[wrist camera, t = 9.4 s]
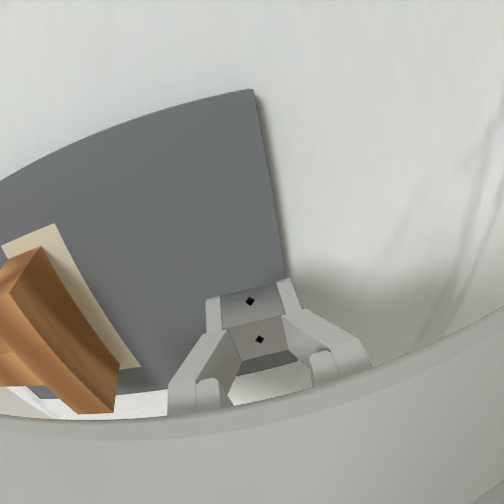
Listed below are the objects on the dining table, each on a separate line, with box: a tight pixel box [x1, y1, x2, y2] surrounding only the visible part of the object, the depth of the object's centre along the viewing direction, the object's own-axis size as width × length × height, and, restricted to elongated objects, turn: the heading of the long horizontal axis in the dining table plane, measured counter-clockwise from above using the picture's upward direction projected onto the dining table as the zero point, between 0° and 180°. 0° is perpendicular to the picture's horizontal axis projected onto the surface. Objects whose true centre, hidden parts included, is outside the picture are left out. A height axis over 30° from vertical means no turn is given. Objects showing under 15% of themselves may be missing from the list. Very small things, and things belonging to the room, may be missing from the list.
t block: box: [0, 246, 120, 414], centre depth 14 cm, size 9×10×4 cm
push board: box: [0, 89, 298, 399], centre depth 16 cm, size 24×18×1 cm
